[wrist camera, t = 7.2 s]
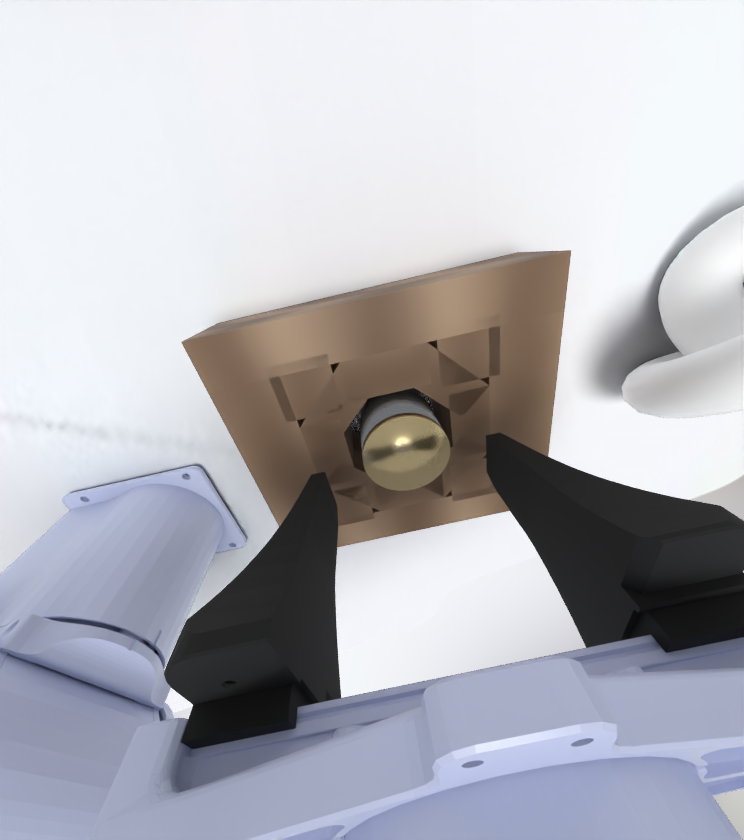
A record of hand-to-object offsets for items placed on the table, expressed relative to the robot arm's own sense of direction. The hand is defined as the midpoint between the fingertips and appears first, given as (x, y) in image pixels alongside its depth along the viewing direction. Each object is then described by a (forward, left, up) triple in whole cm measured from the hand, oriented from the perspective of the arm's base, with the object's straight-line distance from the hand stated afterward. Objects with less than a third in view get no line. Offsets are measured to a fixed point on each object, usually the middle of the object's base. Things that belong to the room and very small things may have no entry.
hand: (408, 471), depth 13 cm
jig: (0, 0, -7) cm, 7 cm away
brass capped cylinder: (0, 0, -7) cm, 7 cm away
